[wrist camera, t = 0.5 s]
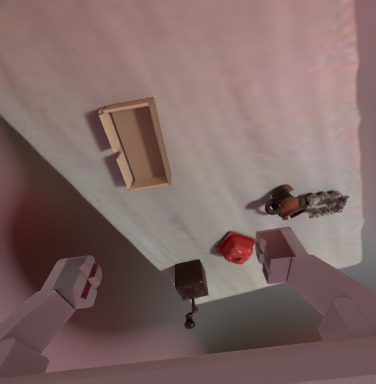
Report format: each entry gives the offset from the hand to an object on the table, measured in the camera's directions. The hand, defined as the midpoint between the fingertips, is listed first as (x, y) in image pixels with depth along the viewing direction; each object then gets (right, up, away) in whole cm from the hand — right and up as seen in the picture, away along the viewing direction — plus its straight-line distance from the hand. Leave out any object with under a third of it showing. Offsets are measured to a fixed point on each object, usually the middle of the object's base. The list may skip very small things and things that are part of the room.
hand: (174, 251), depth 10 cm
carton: (-10, +15, +40) cm, 44 cm away
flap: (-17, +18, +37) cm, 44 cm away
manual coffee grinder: (+2, -30, +73) cm, 79 cm away
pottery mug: (+28, +3, +52) cm, 59 cm away
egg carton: (+43, -1, +55) cm, 70 cm away
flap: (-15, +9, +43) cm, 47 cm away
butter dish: (+18, -16, +64) cm, 68 cm away
